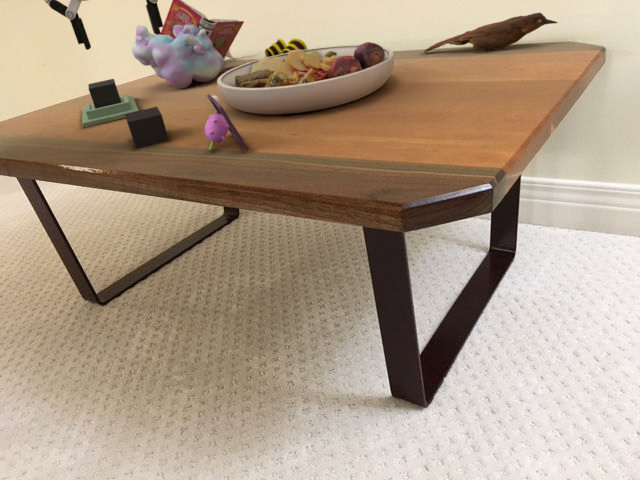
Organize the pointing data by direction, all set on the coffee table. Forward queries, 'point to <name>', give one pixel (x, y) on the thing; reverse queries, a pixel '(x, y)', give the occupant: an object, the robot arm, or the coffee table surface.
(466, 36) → the bird sculpture
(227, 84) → the bowl
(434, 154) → the coffee table surface
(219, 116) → the purple panel with bulb
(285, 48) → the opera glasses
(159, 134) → the gripped black block
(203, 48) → the marbled pastel blob
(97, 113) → the dock
